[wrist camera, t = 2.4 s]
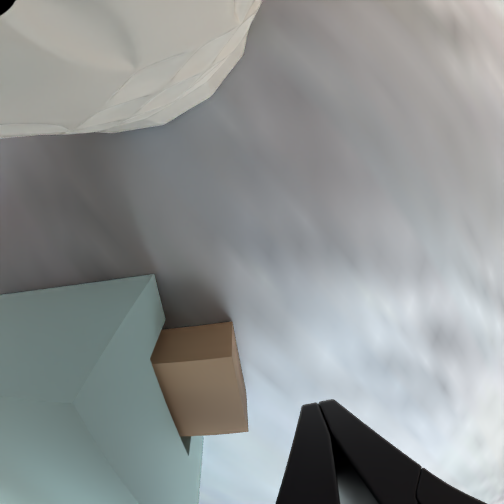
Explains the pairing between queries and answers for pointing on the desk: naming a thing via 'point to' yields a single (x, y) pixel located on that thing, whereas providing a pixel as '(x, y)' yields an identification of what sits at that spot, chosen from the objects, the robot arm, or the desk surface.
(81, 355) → the block
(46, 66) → the white cup
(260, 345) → the desk surface
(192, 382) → the rail
